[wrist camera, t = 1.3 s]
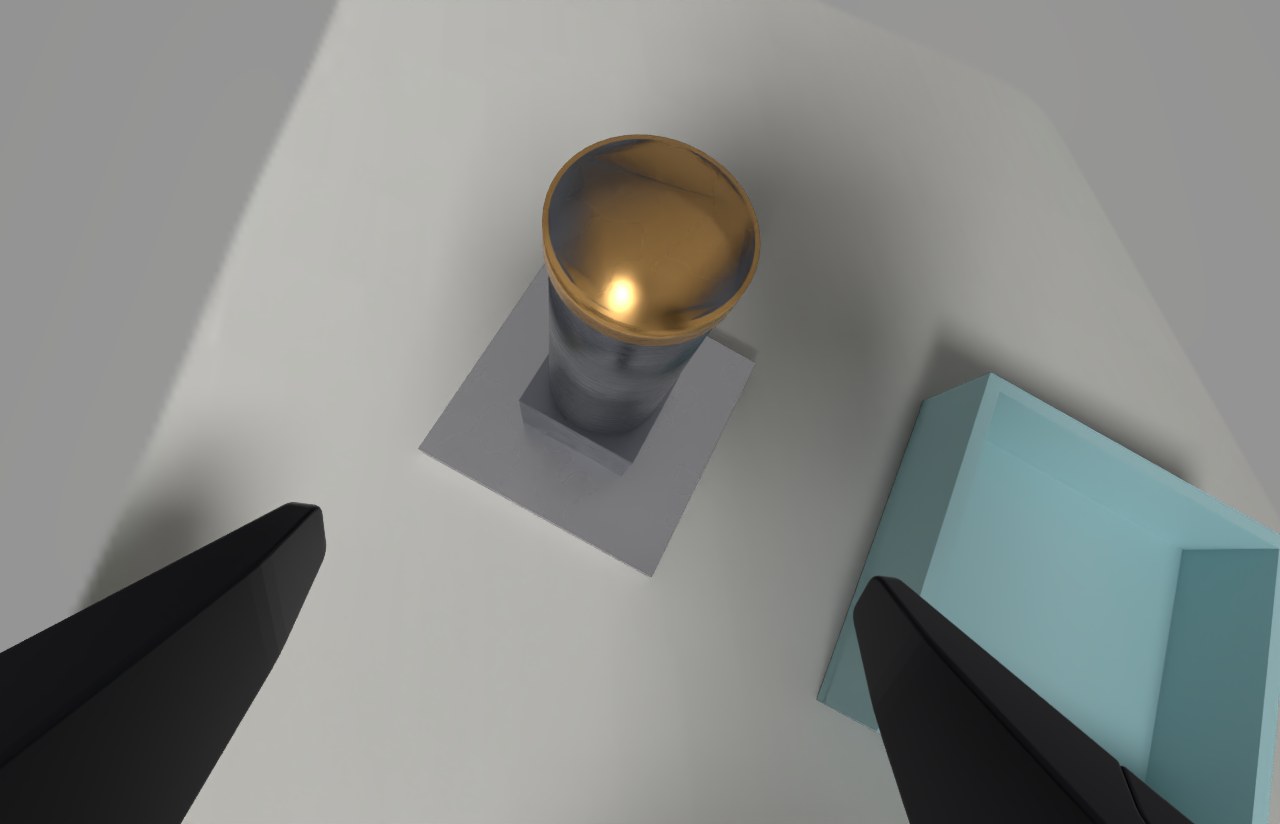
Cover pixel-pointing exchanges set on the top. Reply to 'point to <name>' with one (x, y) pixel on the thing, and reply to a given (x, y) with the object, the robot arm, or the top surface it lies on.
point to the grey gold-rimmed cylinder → (633, 286)
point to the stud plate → (566, 480)
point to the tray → (1090, 592)
